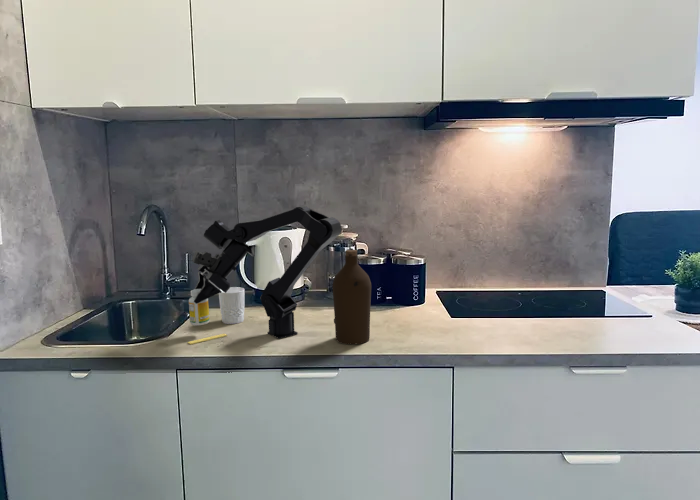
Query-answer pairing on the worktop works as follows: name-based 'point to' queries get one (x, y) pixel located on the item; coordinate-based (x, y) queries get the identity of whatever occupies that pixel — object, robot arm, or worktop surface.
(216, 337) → the yellow flat stick
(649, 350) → the worktop surface
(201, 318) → the supplement bottle
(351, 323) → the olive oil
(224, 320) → the white cup
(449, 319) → the worktop surface
